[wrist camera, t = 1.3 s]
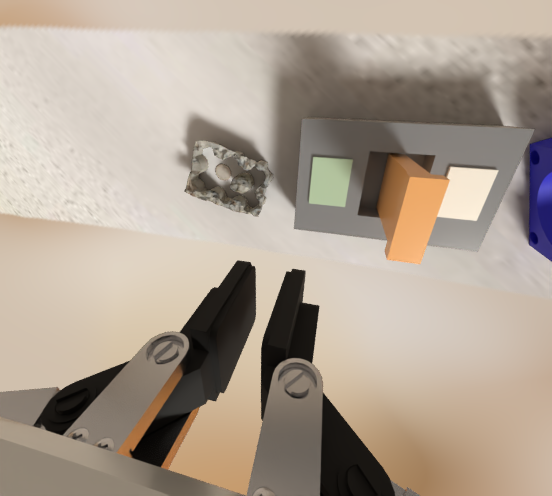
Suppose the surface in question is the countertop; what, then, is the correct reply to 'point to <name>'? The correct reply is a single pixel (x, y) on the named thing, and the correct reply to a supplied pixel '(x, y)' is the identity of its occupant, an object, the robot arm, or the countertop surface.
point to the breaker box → (421, 149)
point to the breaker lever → (408, 207)
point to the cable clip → (541, 197)
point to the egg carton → (223, 172)
